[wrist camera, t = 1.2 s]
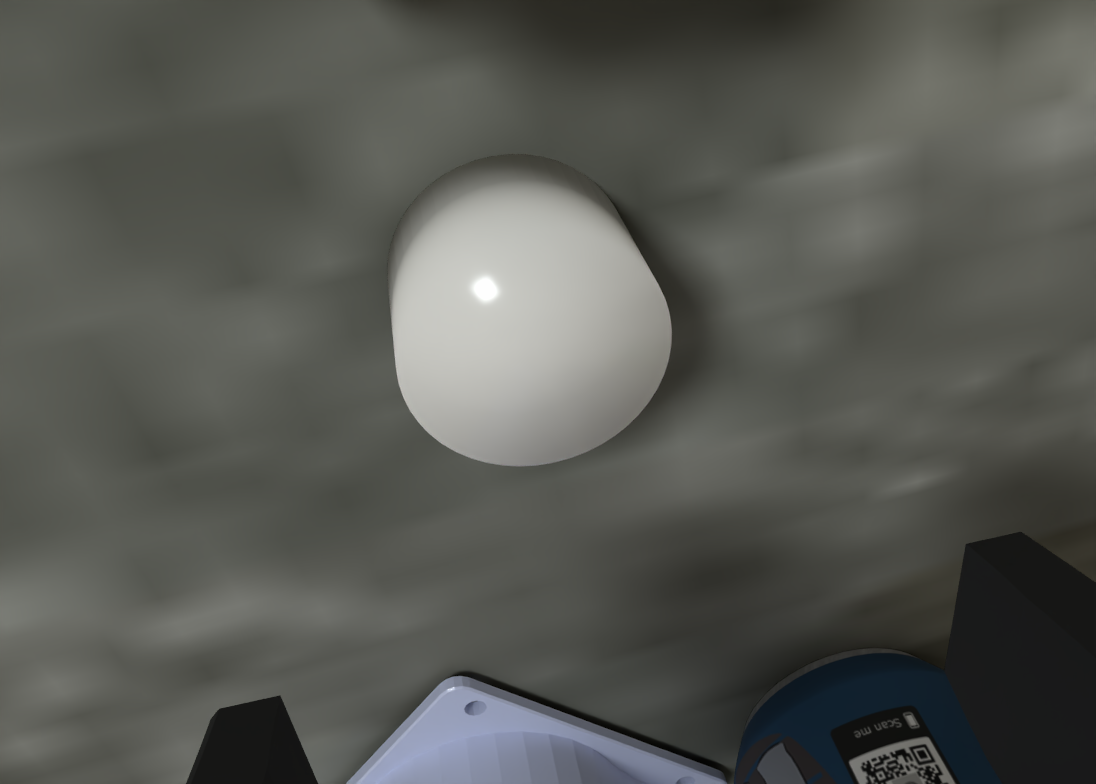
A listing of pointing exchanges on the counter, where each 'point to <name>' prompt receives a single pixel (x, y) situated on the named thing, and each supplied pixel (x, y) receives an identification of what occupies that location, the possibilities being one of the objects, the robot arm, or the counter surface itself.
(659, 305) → the stoneware puck
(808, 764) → the soda can
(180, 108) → the counter surface
